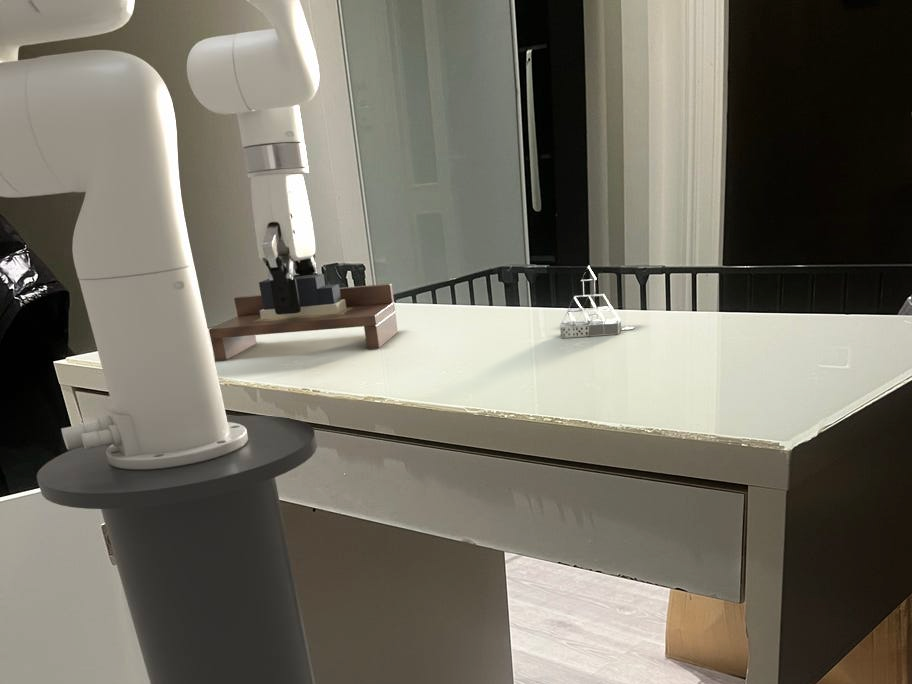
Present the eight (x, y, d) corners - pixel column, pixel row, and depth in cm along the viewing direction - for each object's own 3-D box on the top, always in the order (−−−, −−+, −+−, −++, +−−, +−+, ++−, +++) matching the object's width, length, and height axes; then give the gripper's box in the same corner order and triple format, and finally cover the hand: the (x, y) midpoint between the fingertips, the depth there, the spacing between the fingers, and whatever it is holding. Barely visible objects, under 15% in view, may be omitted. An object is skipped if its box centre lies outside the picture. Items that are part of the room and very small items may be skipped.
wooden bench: (215, 360, 124) (204, 309, 121) (246, 344, 135) (236, 296, 132) (379, 348, 121) (372, 295, 118) (397, 332, 132) (391, 283, 129)
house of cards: (636, 321, 121) (635, 256, 117) (634, 333, 113) (632, 264, 110) (565, 326, 123) (562, 262, 119) (558, 338, 115) (555, 270, 112)
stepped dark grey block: (261, 320, 125) (254, 283, 123) (272, 314, 129) (265, 278, 127) (337, 313, 123) (332, 276, 121) (346, 308, 127) (341, 271, 125)
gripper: (270, 168, 126) (292, 305, 133) (221, 164, 110) (249, 319, 117) (325, 162, 125) (344, 300, 132) (283, 157, 109) (308, 314, 116)
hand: (299, 309), depth 125 cm, fingers open, 9 cm apart
